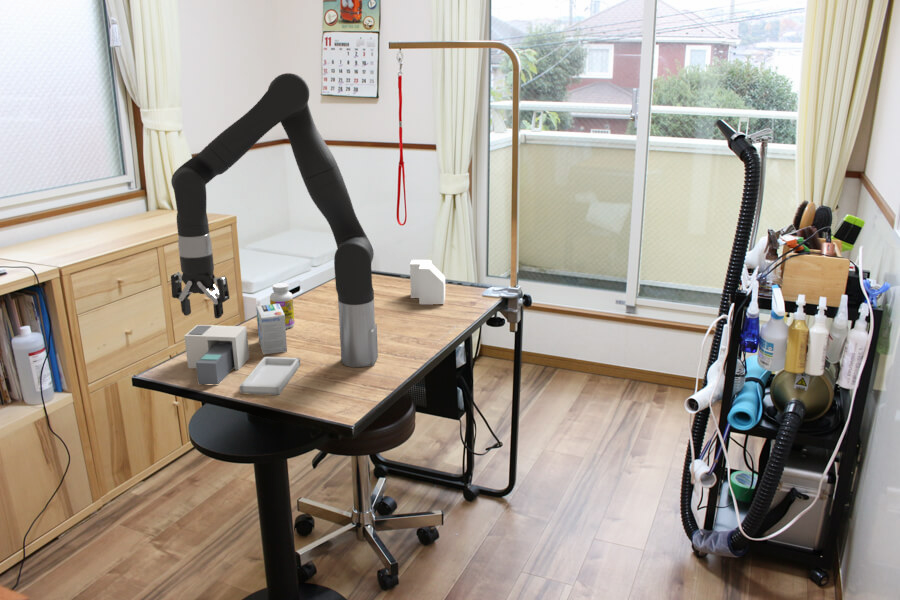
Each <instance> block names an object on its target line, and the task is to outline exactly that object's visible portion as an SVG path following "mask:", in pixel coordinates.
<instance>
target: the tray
mask: <svg viewBox="0 0 900 600" xmlns="http://www.w3.org/2000/svg"><path fill="white" fill-rule="evenodd" d="M300 367H301V358H300V357H284V356H283V357H282V356H281V357H280V356H264V357H263V358H261V360H260V361H259V363H257V365H256V366H255V367H254V369H253V370H252V371H250V373H249V375H248V376H247V377H246V378H245V379H244V380H243V381H242V383H241V384H240V385H239V391H240V394H241V393H249V394H248V395H265V394H271V396H280V395H281V393H282V392H283V390H284V389H285V387H286V386H287V385H288V384H289V382H290V380H291V379H292V378H293V376H294V375H295V373H296V372H297V371H298V369H299V368H300Z"/></svg>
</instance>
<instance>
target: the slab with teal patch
mask: <svg viewBox="0 0 900 600" xmlns="http://www.w3.org/2000/svg"><path fill="white" fill-rule="evenodd" d="M195 369H196V374H197V376H196V377H197V384H219V383H220V382H221V381H222V382H223V381H224V380H225V379H226V377H227V376H228V375H229V374H230V373H231V372H232V370H233V369H235V366H234V356H233V346H232V344H226V343H216V344H215V345H214V346H213V347H212V348H211V349H210V350H209V351H208V352H207V353H206V354H205V355H204V356H202V357H201V358H200V359H199V360H198V361H197V362H196V368H195ZM222 382H221V383H222ZM221 383H220V384H221ZM220 384H219V385H220Z"/></svg>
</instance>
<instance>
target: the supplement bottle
mask: <svg viewBox="0 0 900 600" xmlns="http://www.w3.org/2000/svg"><path fill="white" fill-rule="evenodd" d="M289 289H290V285H289V283H286V282H277V283H274V284H272V291H273V292H272V293H271V294H270V295H269V303H270V304H269V305H272V304H280V306H281V308H282V310H283V312H284V314H285V328H286V330H287V329H291V328H292V327H294V325H295V309H294V308H295V307H294V296H293V293H292V292H290V291H289Z"/></svg>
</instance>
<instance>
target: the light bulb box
mask: <svg viewBox="0 0 900 600" xmlns="http://www.w3.org/2000/svg"><path fill="white" fill-rule="evenodd" d="M255 312H256V320H257V321H256V324H257V332H258V333H257V334H258V343H259V345H260V349H261V351H262V354H263V355H270V354H278V353H285V352H288V347H287V332H286V330H287V329H286V328H285V314H284V312H283V310H282V308H281V306H280V304H272V305H270V304H264V305H256V306H255Z"/></svg>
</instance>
